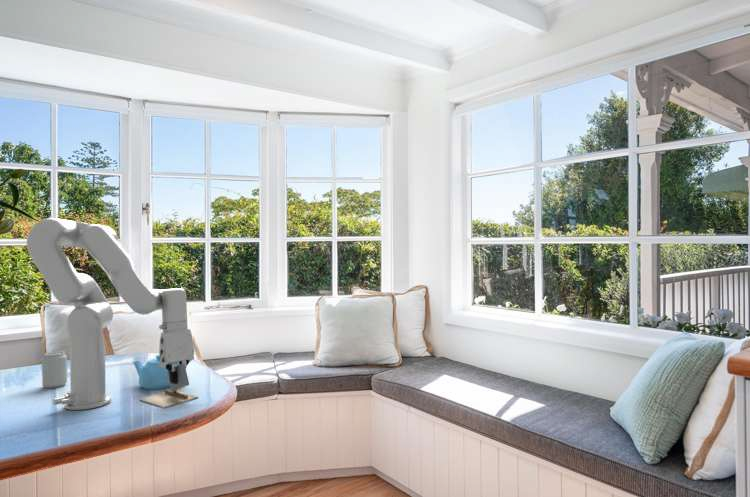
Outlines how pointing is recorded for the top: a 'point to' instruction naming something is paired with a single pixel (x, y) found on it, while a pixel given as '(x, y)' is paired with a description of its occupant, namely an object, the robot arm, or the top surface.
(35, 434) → the top surface
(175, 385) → the tile
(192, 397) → the wooden ridged plate
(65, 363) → the can
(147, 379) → the teapot
